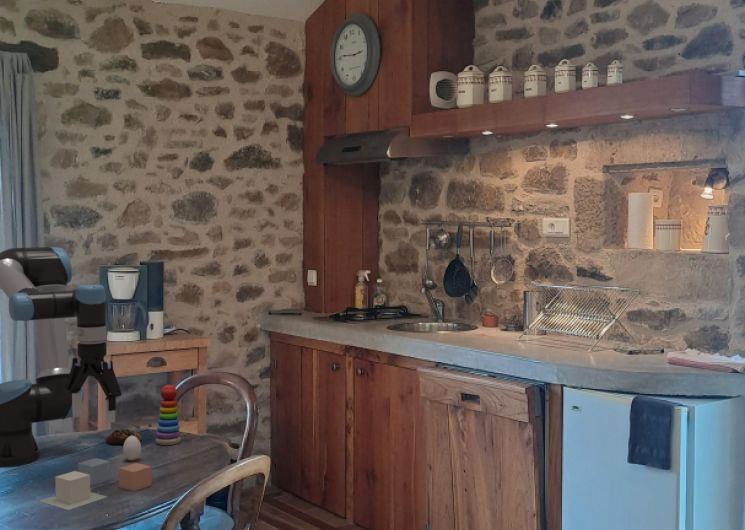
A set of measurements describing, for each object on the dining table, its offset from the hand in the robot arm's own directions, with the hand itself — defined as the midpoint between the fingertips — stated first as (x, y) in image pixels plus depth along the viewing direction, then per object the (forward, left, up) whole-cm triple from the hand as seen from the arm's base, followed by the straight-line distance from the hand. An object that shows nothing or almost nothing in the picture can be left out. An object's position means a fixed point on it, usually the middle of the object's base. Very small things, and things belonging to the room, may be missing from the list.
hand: (93, 419), depth 238 cm
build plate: (+8, -13, -18) cm, 23 cm away
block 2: (0, 0, -18) cm, 18 cm away
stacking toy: (-15, +41, -18) cm, 47 cm away
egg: (-9, +21, -18) cm, 29 cm away
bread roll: (-28, +34, -18) cm, 48 cm away
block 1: (+8, -13, -17) cm, 23 cm away
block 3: (+13, +3, -18) cm, 22 cm away
